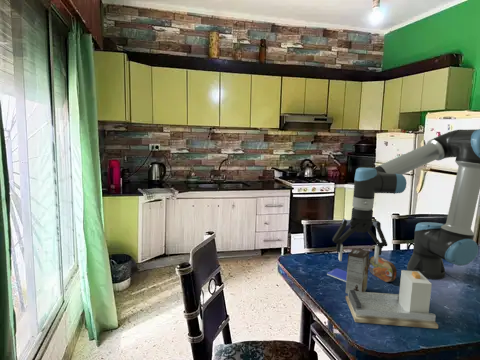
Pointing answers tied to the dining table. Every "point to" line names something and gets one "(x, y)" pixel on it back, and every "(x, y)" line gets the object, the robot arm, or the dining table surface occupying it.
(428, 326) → the board
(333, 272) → the hard drive
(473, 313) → the dining table surface
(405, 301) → the breaker module
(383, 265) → the tin
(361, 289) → the coffee box
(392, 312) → the white base stand
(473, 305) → the dining table surface
